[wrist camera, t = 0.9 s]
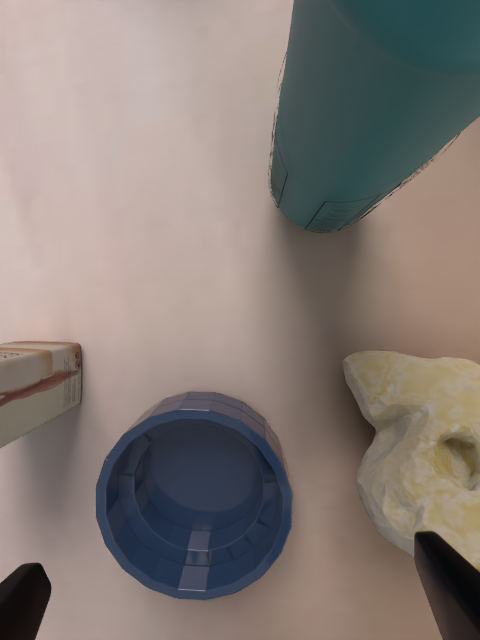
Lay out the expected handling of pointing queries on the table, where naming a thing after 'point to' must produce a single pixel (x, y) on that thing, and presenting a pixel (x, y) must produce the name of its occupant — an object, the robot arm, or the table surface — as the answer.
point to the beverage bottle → (369, 101)
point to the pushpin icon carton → (36, 385)
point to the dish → (196, 497)
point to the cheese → (420, 447)
